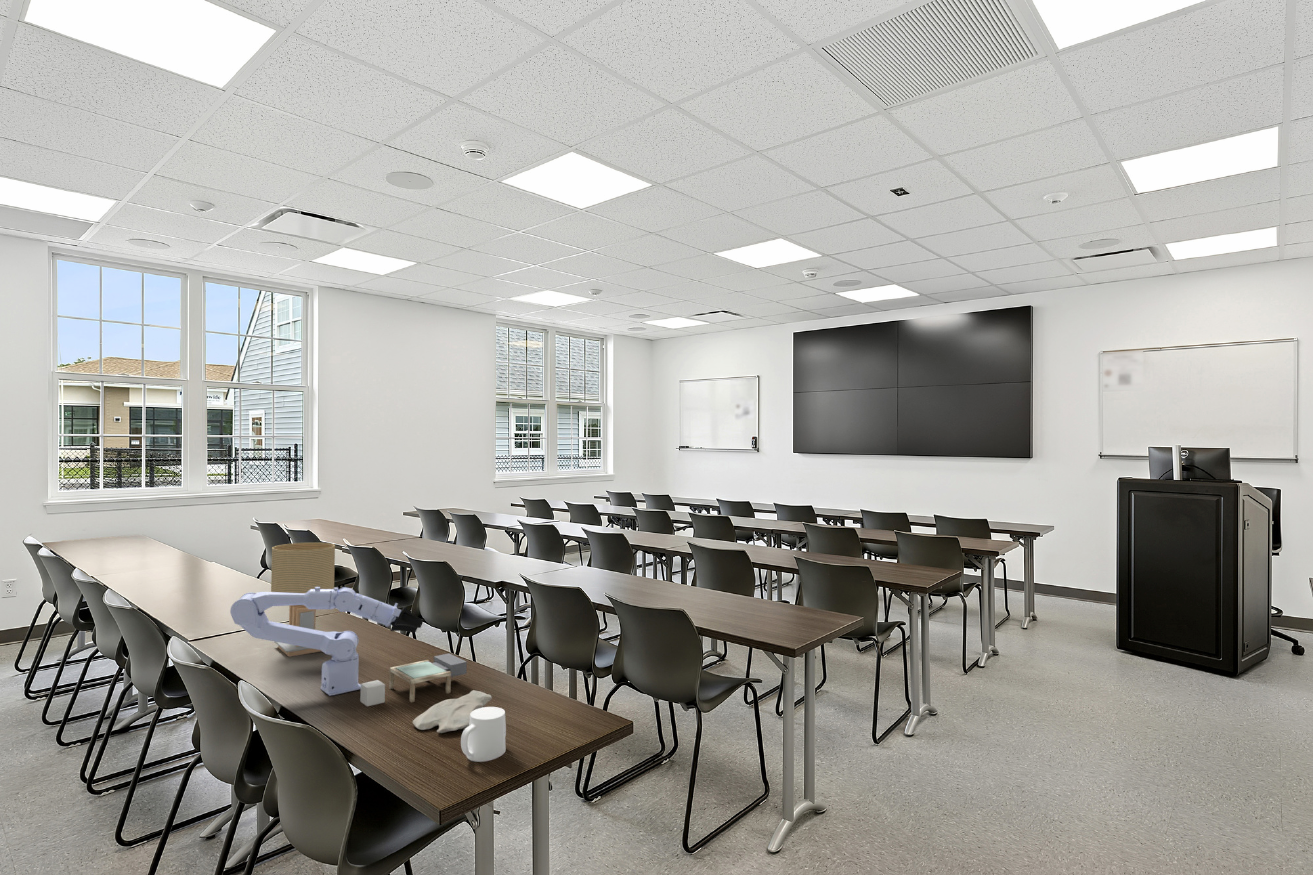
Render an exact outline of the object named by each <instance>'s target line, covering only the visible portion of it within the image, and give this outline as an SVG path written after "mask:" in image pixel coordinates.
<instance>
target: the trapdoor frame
mask: <svg viewBox="0 0 1313 875" xmlns="http://www.w3.org/2000/svg"><path fill="white" fill-rule="evenodd" d="M427 661H428V662H430V660H429V659H425V660H422V661H421V660H420V661H416V662H410V663H405V664H401V665H397V666H396V665H395V666H392V667H389V678H388V679H389V680H388V682H389V683H388V689H389V690H393V689H394V688H395V676H397V677H399V678H400V679H402V680H403V681H405V682H407V683H408V684H409V702H410V703H414V702H415V701H416V700H415V698H416V684H420V683H422V682H423V683H424V682H428V681H432V680H436V679H441V678H445V693H446V694H451V691H452V689H451V686H452V685H451V684H452V683H451V682H452V677H451V672H450V671H447V672H443V673H438V674H434V675H429V676H425V677H420V678H416V679H413V678H411V677H409V676H408V675H406V674H404V673H402V672H401V671H399V670H397V669H396V668H398V667H403V666H408V665H413V664H417V663H422V662H427Z"/></svg>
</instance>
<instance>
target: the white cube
mask: <svg viewBox="0 0 1313 875" xmlns="http://www.w3.org/2000/svg"><path fill="white" fill-rule="evenodd" d="M360 685H361V689H360V698H359V700H360V703H362V704H363V705H365V707H370V706H375V705H379V704H383V703H385V699H386V696H385V695H386V684H385V683H384V682H382V681H381V680H379V679H376V680H371V681H367V682H362V683H360Z"/></svg>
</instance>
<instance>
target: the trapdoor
mask: <svg viewBox="0 0 1313 875" xmlns="http://www.w3.org/2000/svg"><path fill="white" fill-rule="evenodd" d="M467 665H468V664H467V661H466V660H464V659H462V658H459V657H457V656H456V655H453V654H451V653H444V654H438V655H435V656H433V662H431V661H429V662H428V661H427V662H422V663H417V664H413V665H408V666H403V667H398V668H396V669H397V670H399V671H401V672H402V673H404V674H406V675H408V676H409V677H411V678H413V679H416V678H420V677H425V676H429V675H434V674H438V673H443V672H447V671H450V672H451V678H453V677H458V676H462V675H466V674H467V670H468V669H467Z"/></svg>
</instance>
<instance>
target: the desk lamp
mask: <svg viewBox="0 0 1313 875" xmlns="http://www.w3.org/2000/svg"><path fill="white" fill-rule="evenodd" d="M335 555H336V545H335V544H334V543H329V542H295V543H287V544H286V543H285V544H279V545H275V546H272V547H271V572H270V573H271V579H270V580H271V581H270V583H271V584H270V592H284V593H307V592H308V591H309V590H310V589H315V587H320V589H334V588H335V561H336V558H335V557H336V556H335ZM288 611H289V613H288V625H293V626H298V627H303V628H308V629H313V630H316V621H317V619H316V618H317V616H316V615H317V614H316V613H317V612H316V611H317V609H308V608H307V607H306V606H304V605H289V609H288ZM273 642H274V643H275V644H276V645H277V646H278V649H279V650H280V651H282V652H283V653H284V654H285V655H286V656H288V657H289V658H290V657H294V656H301V655H306V654H312V653H319V652H322V651H321V650H318V649H312V648H307V647H302V646H296V645H291V644H285V643H280V642H275V641H273Z"/></svg>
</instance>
